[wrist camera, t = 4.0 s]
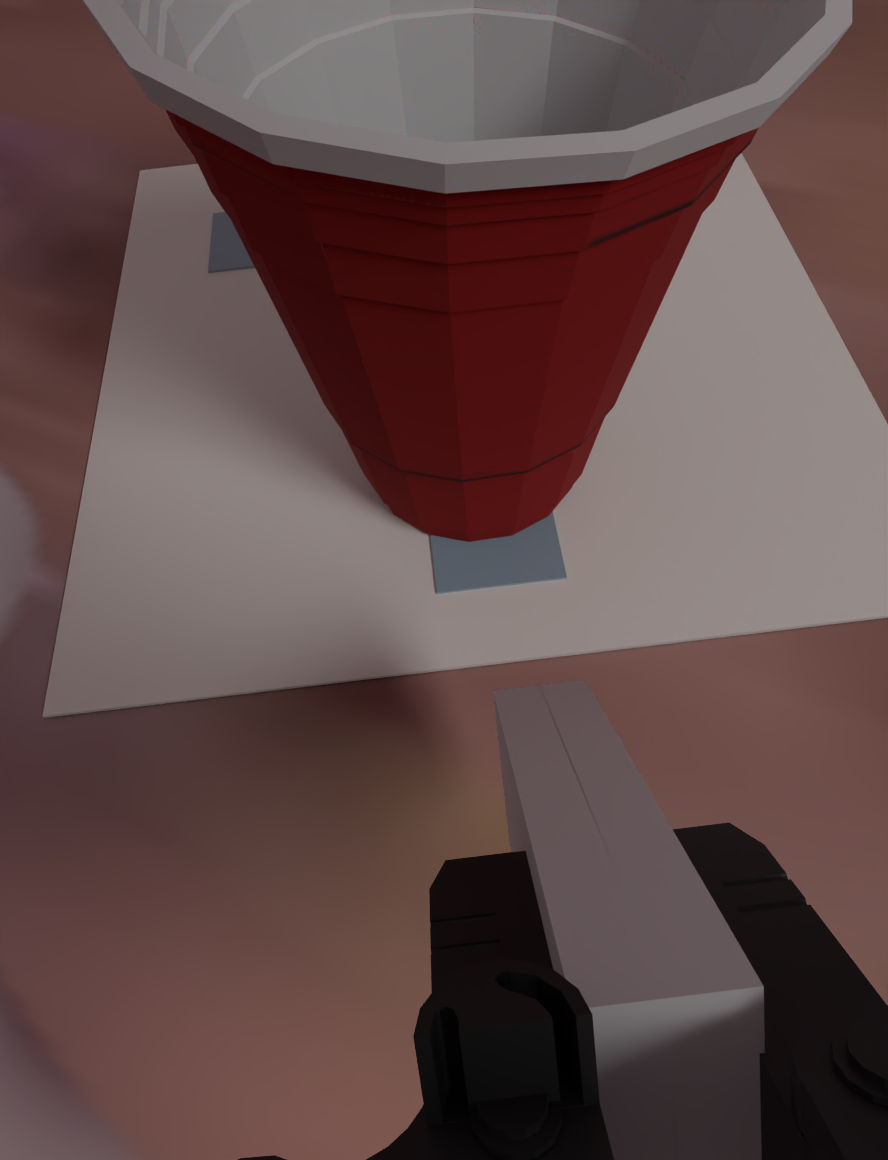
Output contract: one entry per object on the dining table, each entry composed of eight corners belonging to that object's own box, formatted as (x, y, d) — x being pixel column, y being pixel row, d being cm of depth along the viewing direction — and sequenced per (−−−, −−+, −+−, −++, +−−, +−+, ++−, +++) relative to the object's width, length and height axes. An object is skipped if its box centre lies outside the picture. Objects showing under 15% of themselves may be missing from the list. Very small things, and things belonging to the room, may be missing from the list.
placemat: (713, 106, 29) (715, 101, 29) (982, 606, 18) (986, 602, 18) (140, 172, 29) (139, 168, 29) (44, 717, 18) (40, 715, 18)
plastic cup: (602, 709, 17) (765, 199, 7) (204, 544, 20) (-111, 14, 10) (734, 380, 22) (948, -212, 11) (397, 286, 25) (327, -252, 14)
